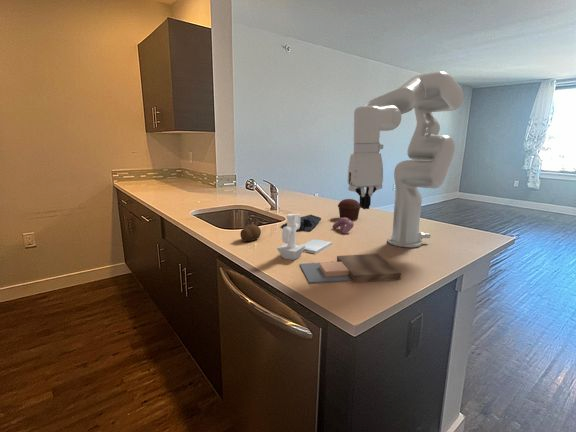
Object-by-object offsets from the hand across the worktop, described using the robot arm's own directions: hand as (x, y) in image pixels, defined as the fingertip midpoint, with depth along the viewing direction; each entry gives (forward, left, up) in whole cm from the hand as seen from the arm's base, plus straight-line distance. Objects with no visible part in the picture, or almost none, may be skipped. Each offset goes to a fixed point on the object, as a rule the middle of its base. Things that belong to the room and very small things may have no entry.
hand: (364, 208), depth 102 cm
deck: (+1, +7, -18) cm, 19 cm away
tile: (+12, +8, -17) cm, 22 cm away
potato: (+35, -29, -18) cm, 49 cm away
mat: (+15, +7, -18) cm, 24 cm away
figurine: (+22, -7, -18) cm, 30 cm away
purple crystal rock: (-5, -37, -18) cm, 41 cm away
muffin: (-16, -58, -18) cm, 63 cm away
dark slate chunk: (+10, -49, -19) cm, 54 cm away
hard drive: (+12, -17, -19) cm, 28 cm away
